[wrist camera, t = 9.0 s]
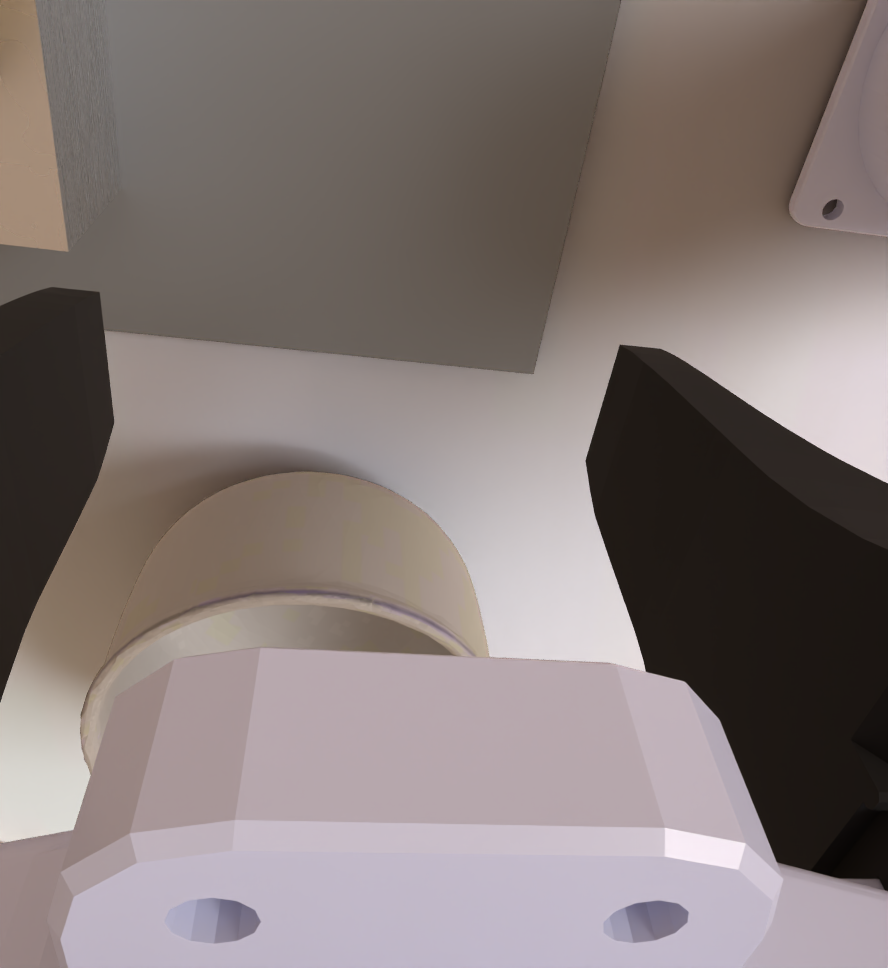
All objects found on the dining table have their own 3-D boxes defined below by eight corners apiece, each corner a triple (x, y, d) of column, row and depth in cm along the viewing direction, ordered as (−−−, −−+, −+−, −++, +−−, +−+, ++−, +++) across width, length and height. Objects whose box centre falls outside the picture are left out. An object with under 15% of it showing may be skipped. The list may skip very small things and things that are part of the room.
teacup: (79, 529, 26) (-21, 743, 20) (347, 352, 23) (329, 539, 17) (350, 739, 34) (341, 945, 27) (584, 627, 30) (635, 831, 24)
